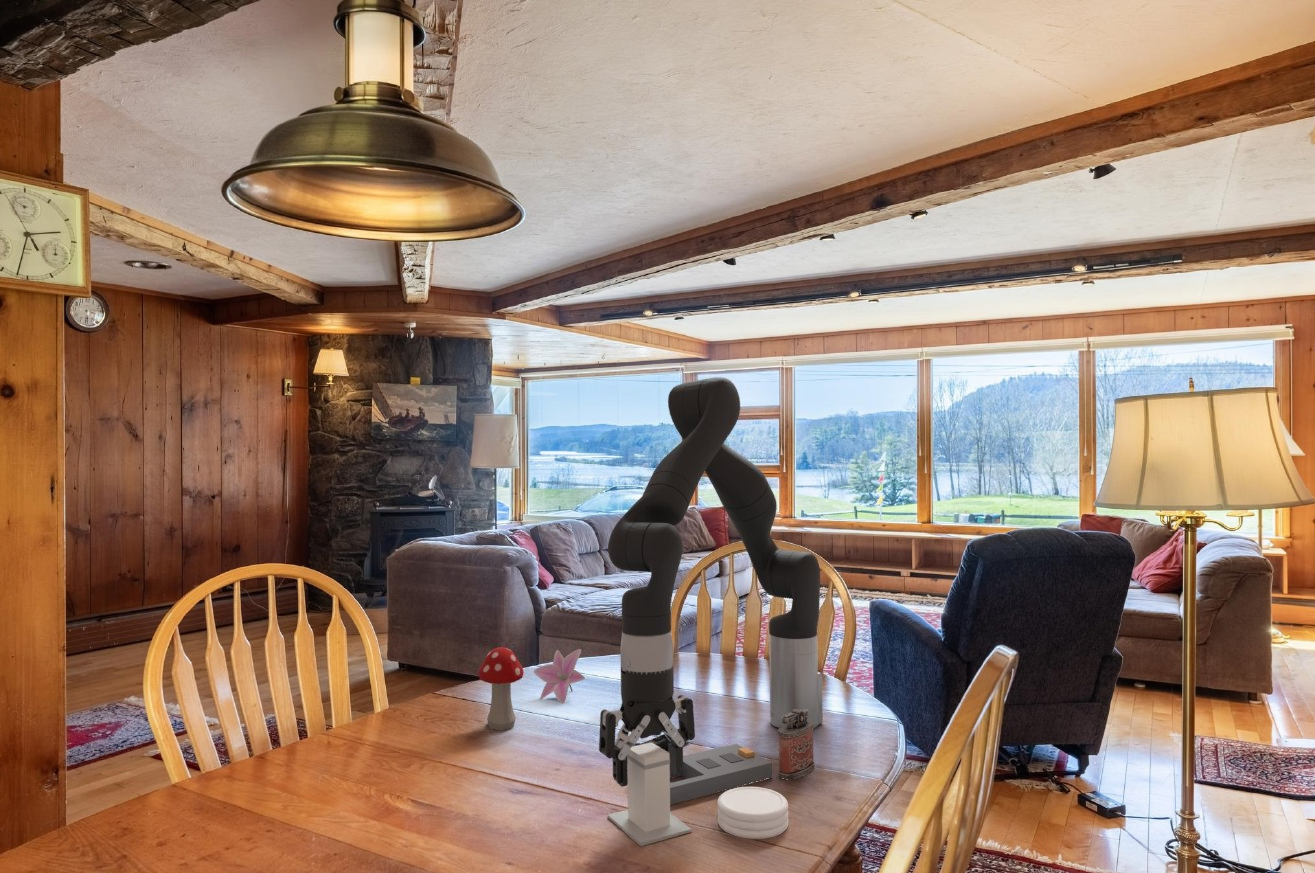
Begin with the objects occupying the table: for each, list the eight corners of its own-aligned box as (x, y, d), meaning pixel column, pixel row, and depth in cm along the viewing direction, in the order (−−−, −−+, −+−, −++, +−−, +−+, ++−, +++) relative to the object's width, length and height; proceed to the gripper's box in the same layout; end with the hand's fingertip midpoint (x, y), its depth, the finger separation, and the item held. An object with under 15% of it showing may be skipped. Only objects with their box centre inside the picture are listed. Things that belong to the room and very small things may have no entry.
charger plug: (652, 811, 118) (651, 742, 118) (670, 824, 113) (669, 752, 114) (627, 818, 116) (626, 747, 116) (645, 832, 111) (644, 758, 111)
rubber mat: (655, 805, 121) (655, 802, 121) (691, 831, 112) (691, 828, 112) (607, 817, 117) (607, 814, 117) (640, 846, 108) (640, 843, 108)
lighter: (802, 762, 137) (801, 702, 137) (819, 767, 134) (818, 707, 135) (773, 776, 131) (772, 714, 131) (790, 782, 129) (789, 718, 129)
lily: (532, 694, 181) (521, 662, 177) (577, 667, 186) (567, 635, 182) (557, 724, 172) (546, 691, 168) (603, 695, 177) (594, 662, 173)
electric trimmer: (696, 744, 147) (696, 726, 147) (638, 768, 136) (638, 749, 136) (681, 739, 150) (680, 722, 150) (622, 763, 138) (622, 744, 138)
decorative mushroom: (530, 729, 155) (529, 650, 155) (485, 736, 151) (485, 655, 152) (515, 714, 164) (515, 640, 164) (473, 721, 160) (472, 645, 161)
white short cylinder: (703, 824, 115) (702, 799, 115) (747, 803, 122) (746, 779, 122) (759, 848, 108) (758, 821, 108) (802, 823, 115) (802, 798, 115)
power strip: (736, 758, 139) (736, 739, 139) (772, 778, 130) (772, 758, 130) (633, 782, 129) (633, 762, 129) (665, 806, 120) (664, 784, 120)
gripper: (676, 650, 122) (677, 759, 121) (590, 664, 115) (591, 779, 114) (703, 661, 115) (705, 776, 115) (613, 676, 108) (615, 798, 108)
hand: (648, 777), depth 115 cm, fingers open, 8 cm apart
